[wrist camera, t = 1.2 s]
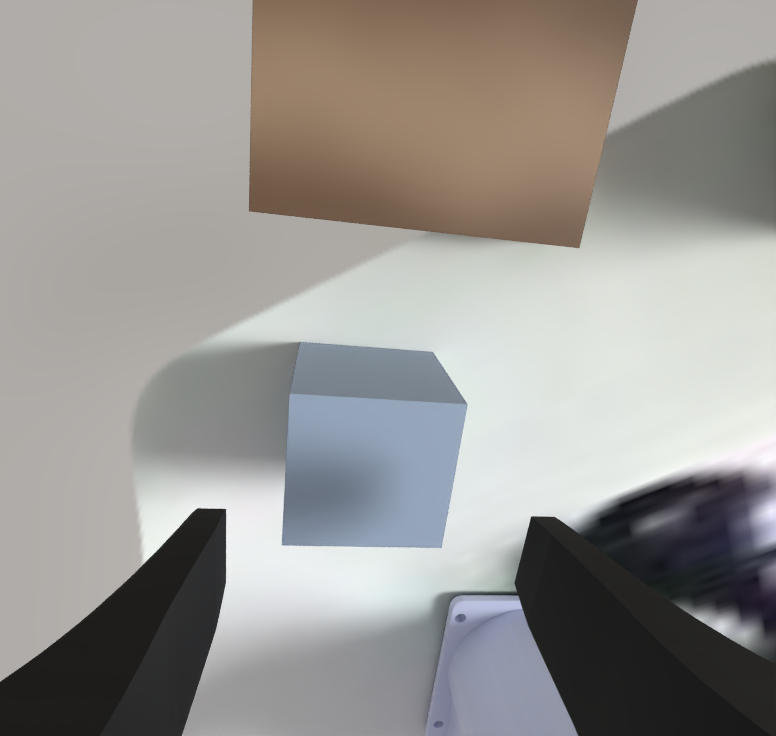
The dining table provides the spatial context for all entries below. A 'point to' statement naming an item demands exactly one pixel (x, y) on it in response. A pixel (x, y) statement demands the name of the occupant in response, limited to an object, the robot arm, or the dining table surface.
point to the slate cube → (370, 447)
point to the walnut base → (435, 112)
